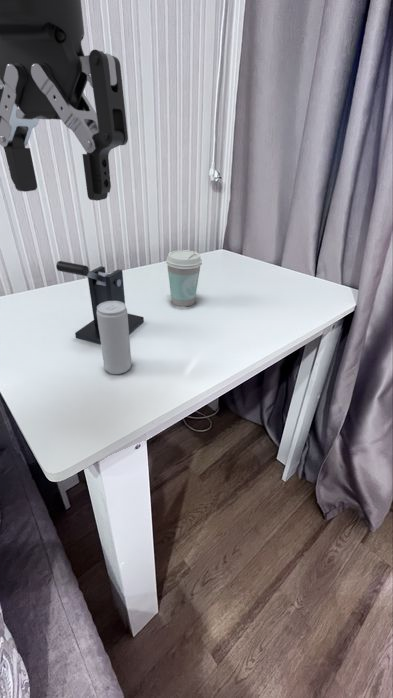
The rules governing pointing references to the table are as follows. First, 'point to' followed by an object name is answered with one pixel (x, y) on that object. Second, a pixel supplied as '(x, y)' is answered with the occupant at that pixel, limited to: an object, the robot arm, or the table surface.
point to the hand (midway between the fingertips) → (61, 194)
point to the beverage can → (114, 336)
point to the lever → (82, 271)
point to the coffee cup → (183, 276)
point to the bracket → (104, 294)
